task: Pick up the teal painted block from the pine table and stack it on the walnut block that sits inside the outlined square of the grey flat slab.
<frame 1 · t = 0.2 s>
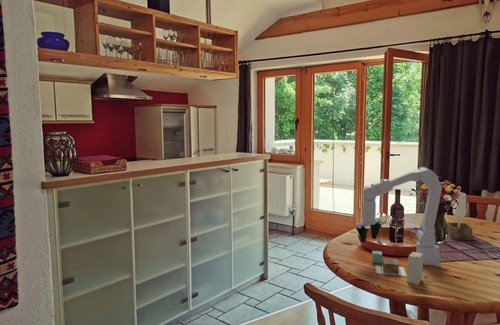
hand: (368, 240, 178), 10 cm above the table, fingers open, 7 cm apart
olive brown open box: (458, 235, 211), on the table
grey flat slab: (390, 271, 166), on the table
teal block: (376, 263, 176), on the table
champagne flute: (458, 236, 211), resting in olive brown open box
skincare box: (414, 283, 155), on the table
walnut block: (390, 270, 166), point 1 cm above the table, touching grey flat slab
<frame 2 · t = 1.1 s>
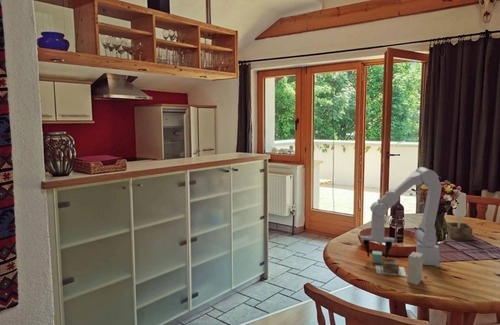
hand: (376, 256, 175), 3 cm above the table, fingers open, 7 cm apart
nothing on the table moved.
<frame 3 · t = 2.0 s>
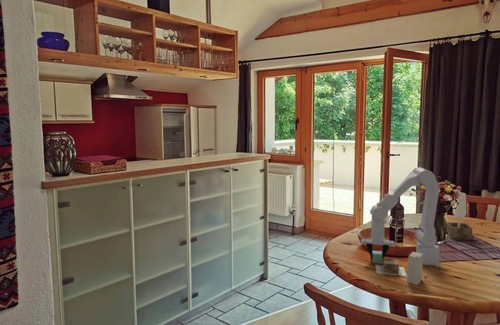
hand: (377, 260, 175), 1 cm above the table, fingers closed on teal block, 4 cm apart
teal block: (376, 262, 176), on the table, touching gripper
everything else where it was.
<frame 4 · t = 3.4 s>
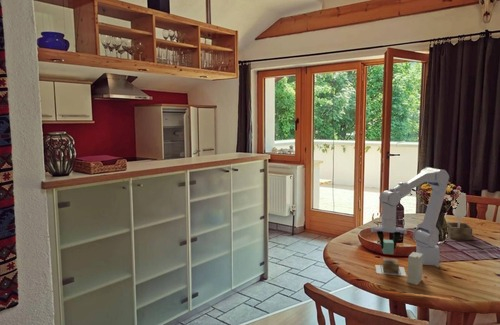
hand: (388, 248, 167), 10 cm above the table, fingers closed on teal block, 4 cm apart
teal block: (387, 252, 167), point 8 cm above the table, touching gripper
everything else where it was.
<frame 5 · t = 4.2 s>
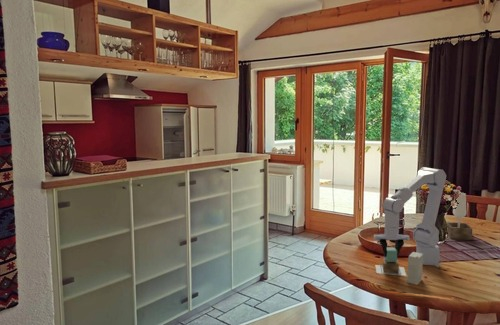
hand: (390, 256, 165), 7 cm above the table, fingers closed on teal block, 4 cm apart
teal block: (390, 260, 165), point 5 cm above the table, touching gripper
everything else where it was.
when the fingers open (7 cm above the table, at t = 4.7 s): teal block stays where it is, resting on walnut block.
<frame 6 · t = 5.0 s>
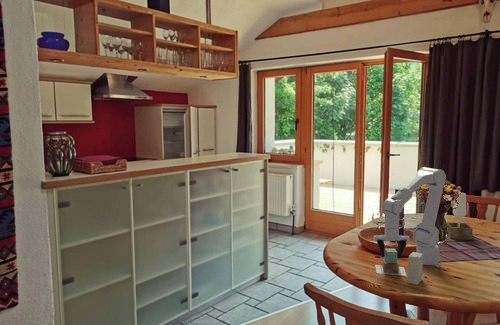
hand: (390, 256, 165), 7 cm above the table, fingers open, 6 cm apart
teal block: (390, 261, 165), point 5 cm above the table, touching walnut block
walnut block: (390, 270, 166), point 1 cm above the table, touching grey flat slab, teal block
everything else where it was.
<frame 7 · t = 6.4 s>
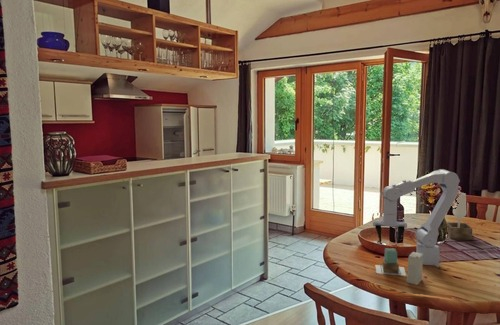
hand: (389, 241, 173), 10 cm above the table, fingers open, 7 cm apart
nothing on the table moved.
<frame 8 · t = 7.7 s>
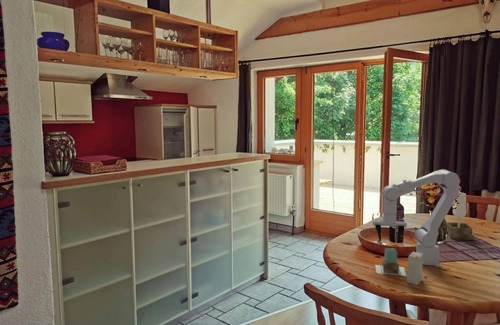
hand: (388, 241, 174), 10 cm above the table, fingers open, 7 cm apart
nothing on the table moved.
at the end: teal block 0.1 cm off-centre on the walnut block, point 4.0 cm above the walnut block's base; teal block tilted 0°; the gripper is holding nothing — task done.
